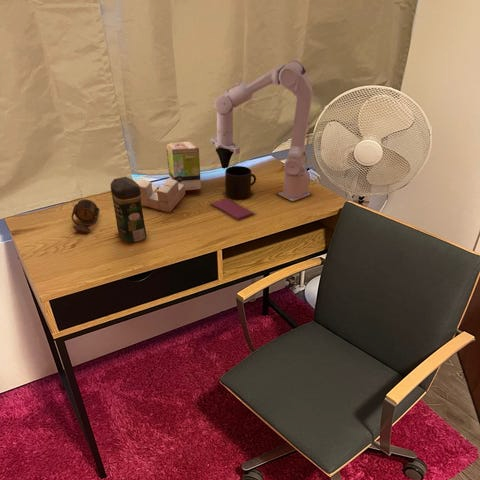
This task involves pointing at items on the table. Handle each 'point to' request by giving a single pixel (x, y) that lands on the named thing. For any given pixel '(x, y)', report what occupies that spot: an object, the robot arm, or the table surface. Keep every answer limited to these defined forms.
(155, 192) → the puzzle cube
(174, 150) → the tea box
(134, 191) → the coffee jar
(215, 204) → the cloth
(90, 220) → the dark brown rounded piece
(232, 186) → the mug
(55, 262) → the table surface
